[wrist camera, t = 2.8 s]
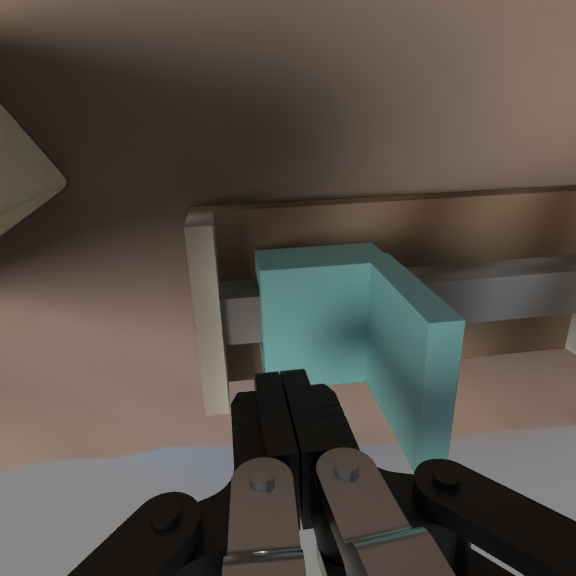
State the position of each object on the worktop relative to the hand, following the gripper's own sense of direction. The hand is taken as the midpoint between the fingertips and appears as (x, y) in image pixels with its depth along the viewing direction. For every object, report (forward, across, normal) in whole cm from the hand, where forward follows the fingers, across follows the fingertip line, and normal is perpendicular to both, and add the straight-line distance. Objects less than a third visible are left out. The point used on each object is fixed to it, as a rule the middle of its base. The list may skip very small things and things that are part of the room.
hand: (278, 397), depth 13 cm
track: (+8, -8, 0) cm, 11 cm away
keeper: (+7, -2, 0) cm, 7 cm away
